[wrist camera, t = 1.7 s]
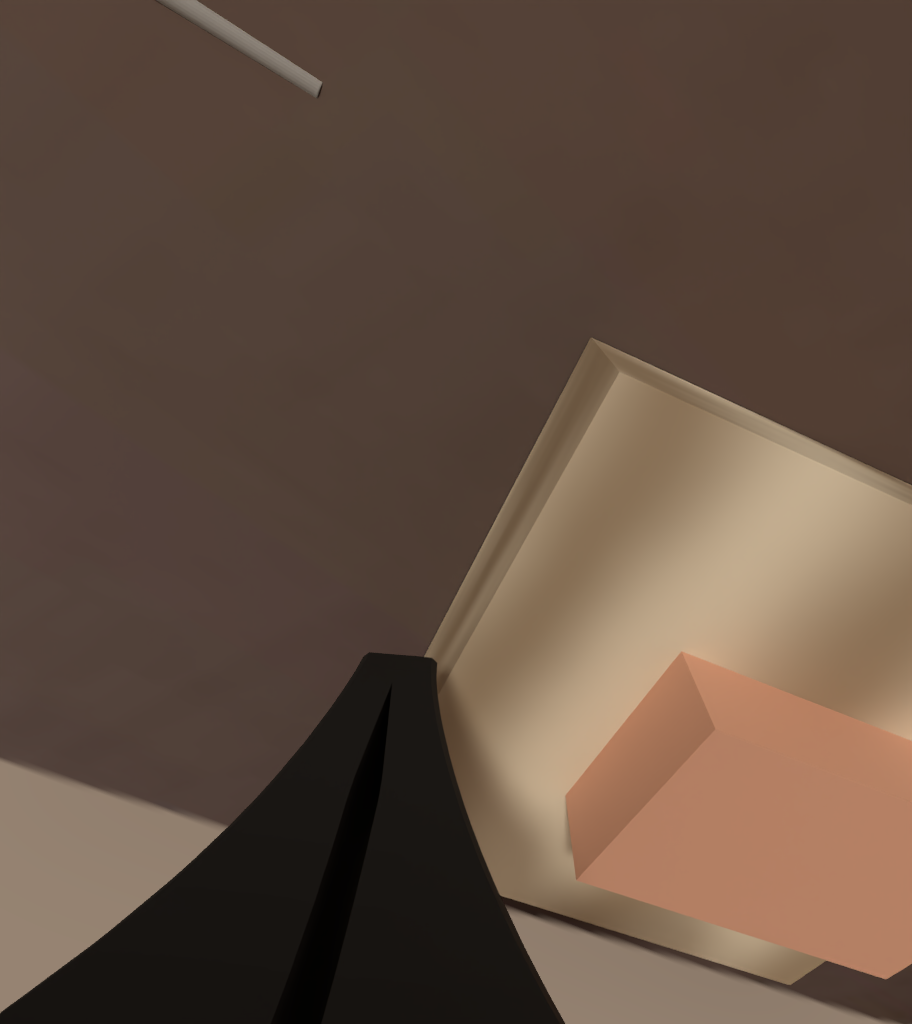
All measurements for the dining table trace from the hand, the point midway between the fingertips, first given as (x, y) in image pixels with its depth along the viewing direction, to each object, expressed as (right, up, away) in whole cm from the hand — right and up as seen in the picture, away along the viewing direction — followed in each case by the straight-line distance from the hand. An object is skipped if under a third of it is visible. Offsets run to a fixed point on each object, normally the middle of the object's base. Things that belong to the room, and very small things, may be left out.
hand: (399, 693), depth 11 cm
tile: (+8, -3, +2) cm, 9 cm away
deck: (+8, -1, +5) cm, 9 cm away
